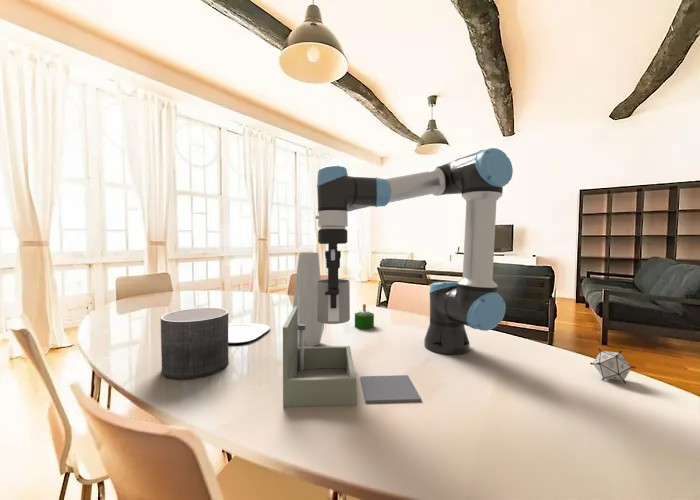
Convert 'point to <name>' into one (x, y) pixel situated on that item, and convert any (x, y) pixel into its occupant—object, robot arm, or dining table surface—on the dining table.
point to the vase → (308, 297)
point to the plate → (245, 332)
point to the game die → (612, 365)
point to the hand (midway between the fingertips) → (333, 316)
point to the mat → (389, 389)
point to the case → (295, 358)
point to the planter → (194, 342)
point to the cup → (343, 301)
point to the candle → (364, 319)
